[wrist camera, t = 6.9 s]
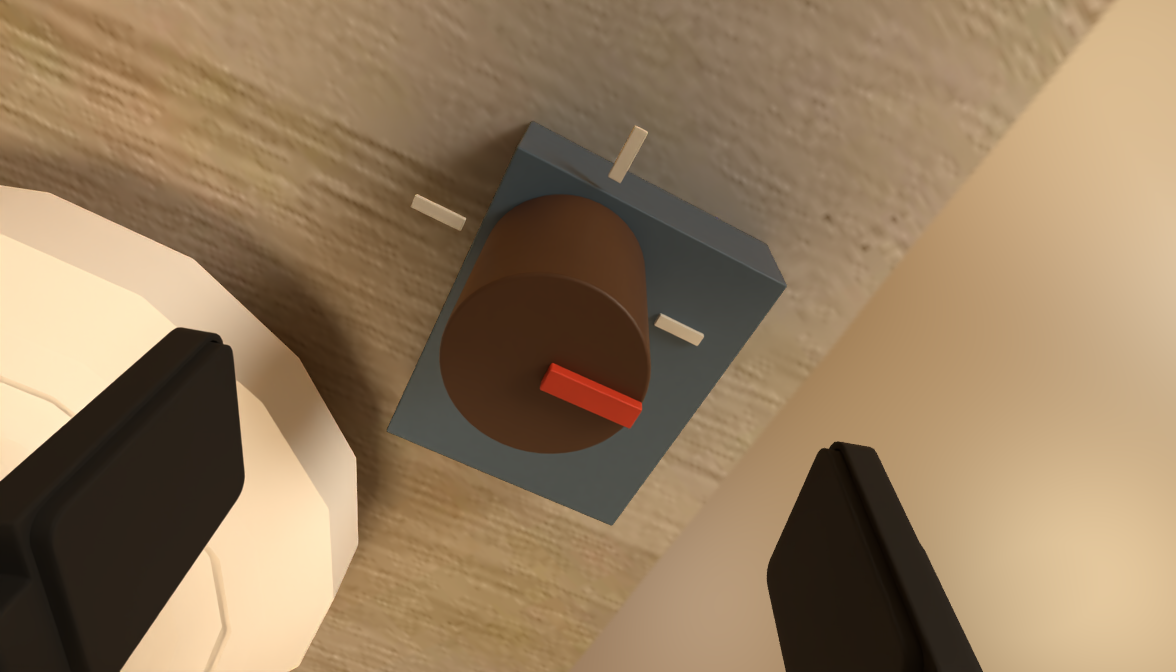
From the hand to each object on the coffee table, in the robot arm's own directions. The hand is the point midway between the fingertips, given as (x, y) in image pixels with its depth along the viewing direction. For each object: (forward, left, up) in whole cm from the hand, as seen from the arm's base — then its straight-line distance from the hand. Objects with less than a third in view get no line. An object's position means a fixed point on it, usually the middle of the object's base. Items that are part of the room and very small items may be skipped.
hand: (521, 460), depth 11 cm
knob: (0, 0, -8) cm, 8 cm away
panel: (+1, +2, -11) cm, 12 cm away
